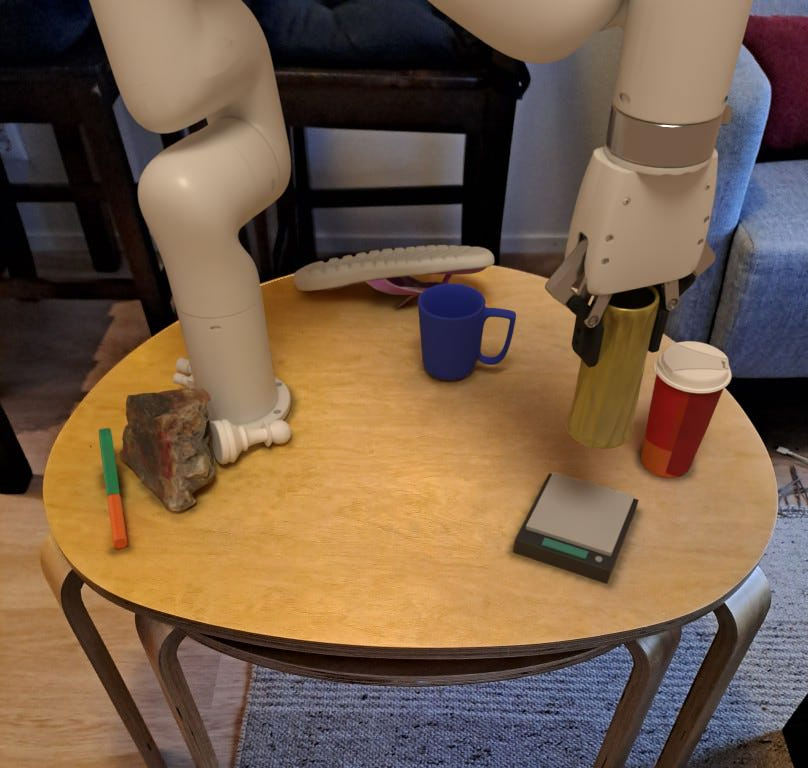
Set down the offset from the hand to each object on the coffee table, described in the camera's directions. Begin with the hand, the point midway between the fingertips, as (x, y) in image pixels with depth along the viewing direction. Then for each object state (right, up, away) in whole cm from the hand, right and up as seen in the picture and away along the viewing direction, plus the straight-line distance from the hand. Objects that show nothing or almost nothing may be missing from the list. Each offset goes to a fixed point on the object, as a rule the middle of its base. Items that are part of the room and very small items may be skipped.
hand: (615, 349), depth 70 cm
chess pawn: (-40, -6, +22) cm, 46 cm away
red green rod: (-49, -11, +18) cm, 54 cm away
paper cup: (+12, -8, +23) cm, 27 cm away
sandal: (-20, +23, +43) cm, 53 cm away
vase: (0, -6, +7) cm, 9 cm away
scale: (0, -16, +16) cm, 22 cm away
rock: (-41, -8, +23) cm, 47 cm away
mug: (-11, +5, +36) cm, 37 cm away
